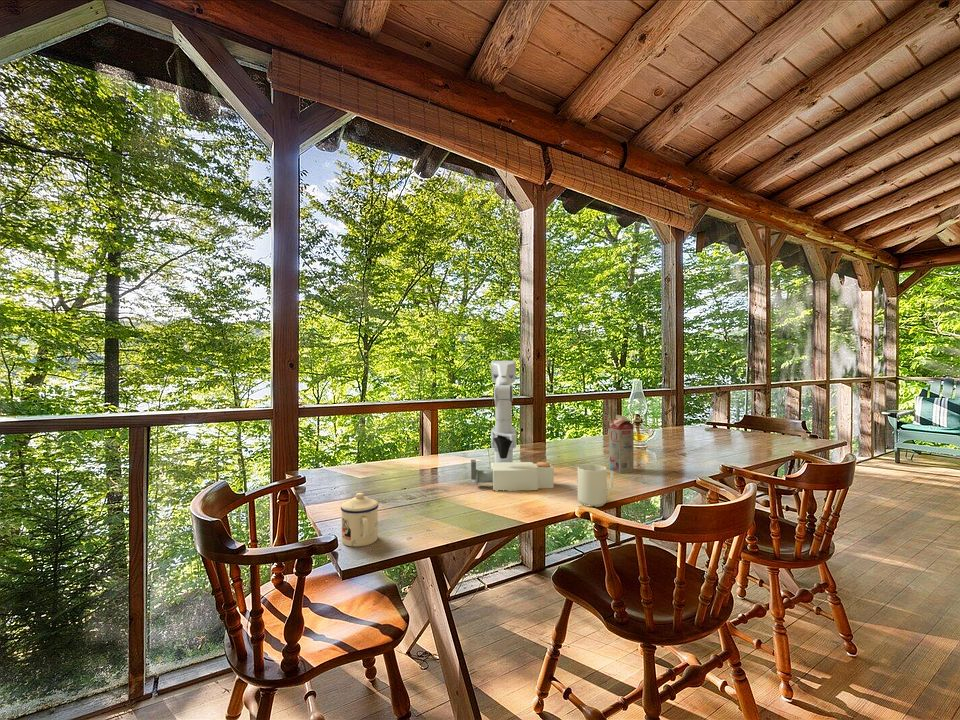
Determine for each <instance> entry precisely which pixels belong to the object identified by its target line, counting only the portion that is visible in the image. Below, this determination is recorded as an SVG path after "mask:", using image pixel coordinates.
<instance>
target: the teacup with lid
mask: <svg viewBox="0 0 960 720" xmlns="http://www.w3.org/2000/svg"><path fill="white" fill-rule="evenodd" d="M379 506H380V505H379V502H378V501H377V500H375V499H373V498H369V497H367V496H365V494H364V493H363V492H358V493H356V494H355V496H354V497H353V498H351V499H350V500H346V501H344V502H343V503H341V506H340V510H341V542H342V544H343V545H345V546H348V547H353V548H358V547H360V548H361V547H366V546H369V545H371V544H374V543H375V542H376V541H377V540H378V531H379V529H378V526H379V525H378V524H379V523H378V522H379V520H378V519H379V518H378V517H379V513H378V508H379Z"/></svg>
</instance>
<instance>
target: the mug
mask: <svg viewBox="0 0 960 720" xmlns="http://www.w3.org/2000/svg"><path fill="white" fill-rule="evenodd" d="M608 473H610V475H609V476H610V477H609V479H610V480H609V487H608ZM614 473H615V472H614V471H612V470H609V469H608V468H607V467H606V466H604V465H600V464H594V463H593V464H589V463H587V464H580V465H578V466H577V501H578V502H579V504H581V505H582V504H585V505H590V506H595V507H594V508H598V507H603V506H605V504H607V501H608V494H609V493H610V492H611V491H612V490H614V483H615V481H614V478H615V474H614ZM585 505H584V506H585Z"/></svg>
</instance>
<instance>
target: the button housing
mask: <svg viewBox="0 0 960 720" xmlns="http://www.w3.org/2000/svg"><path fill="white" fill-rule="evenodd" d="M554 469H555V467H554V466H553V465H552V464H551V463H550V466H548V467H538V466H537V463H534V462H532V461H519V462H518V461H515V462H514V461H513V462H499V463H494V462H490V470H493V483H492V484H491V487H492V486H493V487H492V491H493V490H496V491H495V492H499V491H498V490H503V491H502V492H505V491H504V490H508V491H507V492H516V491H515V490H538V491H539V489H554V485H555V484H554V483H555V482H554V479H555V478H554V477H555V474H554V473H555V471H554ZM512 490H513V491H512Z"/></svg>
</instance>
